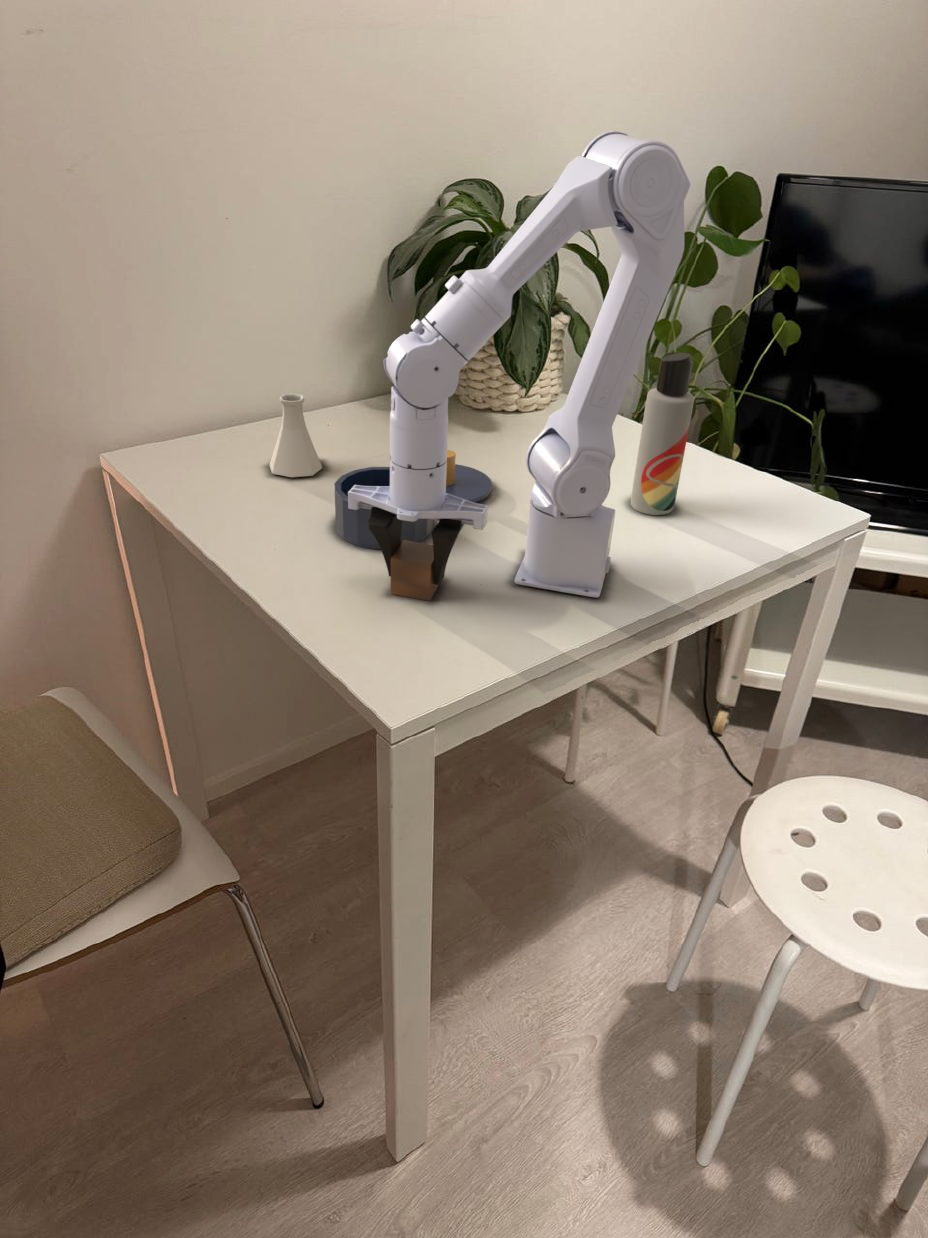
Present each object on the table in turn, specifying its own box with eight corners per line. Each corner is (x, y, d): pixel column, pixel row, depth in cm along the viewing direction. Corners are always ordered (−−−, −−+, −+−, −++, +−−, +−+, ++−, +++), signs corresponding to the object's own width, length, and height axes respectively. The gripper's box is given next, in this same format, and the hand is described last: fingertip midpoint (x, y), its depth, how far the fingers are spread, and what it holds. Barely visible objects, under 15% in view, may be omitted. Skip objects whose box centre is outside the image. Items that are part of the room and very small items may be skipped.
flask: (318, 480, 121) (315, 408, 115) (264, 477, 121) (258, 405, 115) (326, 459, 127) (323, 389, 122) (274, 456, 127) (269, 386, 121)
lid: (501, 478, 124) (503, 443, 121) (478, 516, 114) (481, 479, 111) (413, 465, 127) (413, 430, 124) (383, 501, 116) (383, 464, 114)
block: (441, 581, 100) (442, 546, 98) (429, 601, 96) (430, 565, 94) (403, 574, 101) (403, 539, 98) (390, 594, 97) (390, 558, 95)
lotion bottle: (673, 518, 116) (702, 363, 105) (628, 512, 117) (653, 358, 106) (673, 500, 121) (701, 350, 110) (631, 494, 122) (654, 345, 111)
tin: (442, 514, 114) (444, 474, 111) (415, 556, 104) (415, 514, 102) (355, 500, 116) (355, 461, 113) (321, 540, 107) (319, 498, 104)
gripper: (335, 462, 89) (339, 582, 96) (479, 484, 86) (471, 606, 93) (360, 437, 94) (362, 552, 102) (495, 457, 92) (487, 574, 99)
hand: (416, 576), depth 98 cm, fingers closed on block, 4 cm apart
